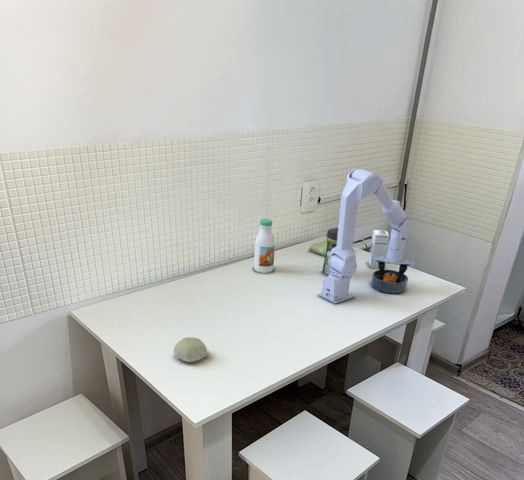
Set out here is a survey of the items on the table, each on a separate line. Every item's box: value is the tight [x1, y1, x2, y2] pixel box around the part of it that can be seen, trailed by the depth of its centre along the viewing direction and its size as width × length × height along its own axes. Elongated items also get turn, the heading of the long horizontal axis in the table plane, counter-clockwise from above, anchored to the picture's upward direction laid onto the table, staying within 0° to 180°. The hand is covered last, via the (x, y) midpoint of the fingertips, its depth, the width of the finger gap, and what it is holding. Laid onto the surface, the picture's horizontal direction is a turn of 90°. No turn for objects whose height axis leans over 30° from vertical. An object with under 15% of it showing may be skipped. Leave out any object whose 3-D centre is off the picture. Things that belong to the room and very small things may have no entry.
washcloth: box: [308, 238, 327, 257], centre depth 217 cm, size 13×18×3 cm
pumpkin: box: [382, 272, 397, 283], centre depth 186 cm, size 6×6×5 cm
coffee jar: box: [322, 227, 338, 276], centre depth 192 cm, size 10×8×19 cm
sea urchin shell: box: [173, 336, 207, 363], centre depth 138 cm, size 9×8×8 cm
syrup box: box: [368, 229, 390, 269], centre depth 202 cm, size 6×6×14 cm
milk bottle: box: [253, 218, 276, 274], centre depth 191 cm, size 8×8×20 cm
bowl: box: [370, 268, 409, 294], centre depth 186 cm, size 13×13×4 cm
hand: (389, 281), depth 186 cm, fingers closed on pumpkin, 5 cm apart
